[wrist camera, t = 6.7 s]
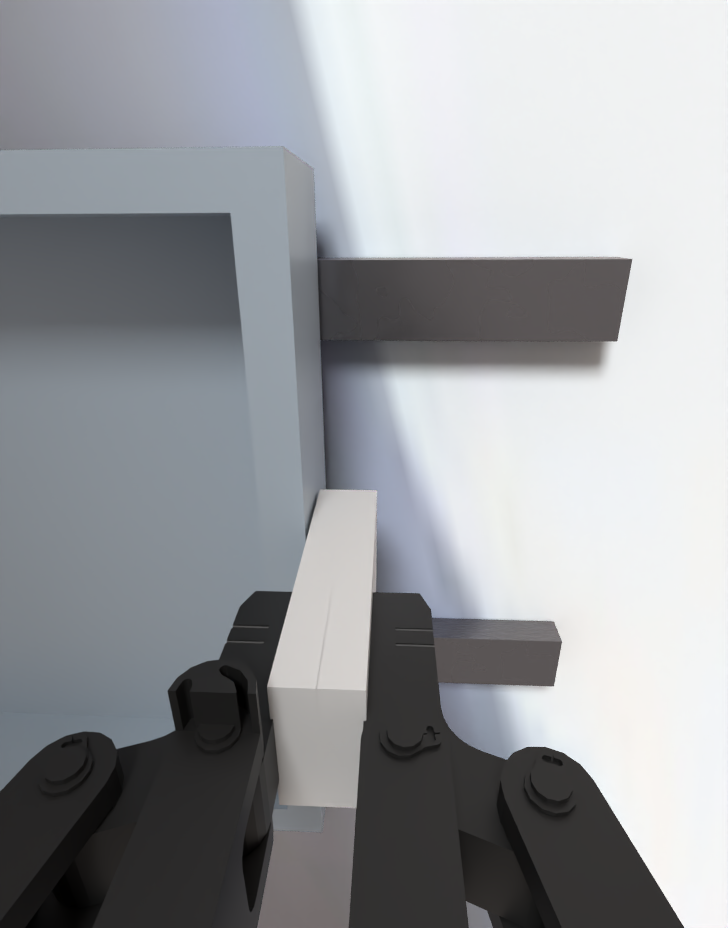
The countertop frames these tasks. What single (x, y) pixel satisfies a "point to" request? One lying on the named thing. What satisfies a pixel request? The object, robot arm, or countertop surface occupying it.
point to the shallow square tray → (148, 425)
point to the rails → (478, 319)
